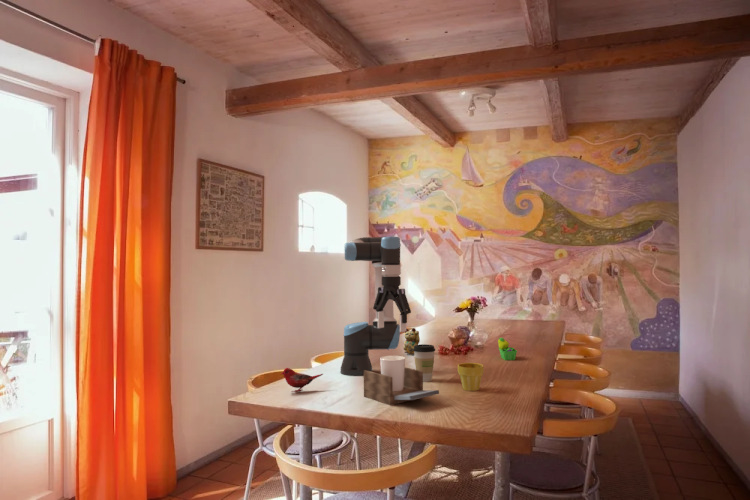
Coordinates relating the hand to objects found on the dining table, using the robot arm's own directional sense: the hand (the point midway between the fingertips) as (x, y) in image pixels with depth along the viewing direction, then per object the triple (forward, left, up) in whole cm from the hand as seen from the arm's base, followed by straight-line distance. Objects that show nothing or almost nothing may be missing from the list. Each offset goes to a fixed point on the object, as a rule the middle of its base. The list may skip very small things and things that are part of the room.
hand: (391, 329), depth 203 cm
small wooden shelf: (+3, -2, -25) cm, 26 cm away
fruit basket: (-18, +95, -26) cm, 100 cm away
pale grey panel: (+11, -2, -22) cm, 25 cm away
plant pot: (+14, +30, -26) cm, 42 cm away
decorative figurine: (-61, +66, -26) cm, 93 cm away
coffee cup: (-10, +27, -26) cm, 38 cm away
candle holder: (+3, -2, -23) cm, 23 cm away
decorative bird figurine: (-28, -24, -26) cm, 45 cm away
